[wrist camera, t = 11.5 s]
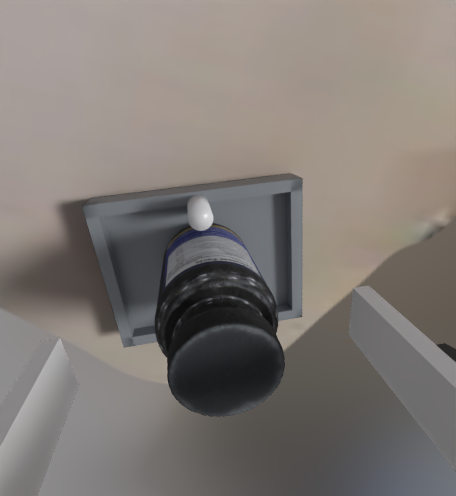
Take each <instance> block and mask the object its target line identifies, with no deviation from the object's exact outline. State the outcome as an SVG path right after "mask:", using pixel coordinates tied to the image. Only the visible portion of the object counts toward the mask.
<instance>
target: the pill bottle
mask: <svg viewBox="0 0 456 496" xmlns="http://www.w3.org/2000/svg"><path fill="white" fill-rule="evenodd" d="M154 322H155V334H156V339H157V342H158V344H159V347H160V348H161V350H162V352H163V354H164V355H165V356H166V357H167V363H168V367H167V369H168V375H167V377H168V383H169V387H170V389H171V392H172V394H173V395H174V397H175V398H176V400H178V401H179V403H181V404H182V405H183V406H184V407H186V408H187V409H189V410H191V411H193V412H196V413H199V414H202V415H208V416H218V417H220V416H223V417H224V416H230V415H235V414H239V413H241V412H245V411H248V410H250V409H253V408H254V407H255V406H257V405H259V404H260V403H262V402H264V401H265V400H266V399H267V398H268V397H269V396H270V395H271V394H272V393H273V392H274V390H275V389H276V388H277V387H278V385H279V383H280V380H281V378H282V376H283V371H284V366H285V362H284V354H283V349H282V346H281V344H280V342H279V340H278V338H277V336H276V332H277V328H278V309H277V305H276V302H275V299H274V296H273V294H272V292H271V291H270V289H269V287H268V286H267V284H266V282H265V280H264V279H263V277H262V275H261V273H260V271H259V270H258V268H257V266H256V264H255V263H254V261H253V259H252V257H251V256H250V254H249V252H248V250H247V249H246V247H245V245H244V243H243V241H242V240H241V238H240V237H239V236H238V235H237V234H236V233H235V232H233V231H232V230H231V229H229V228H227V227H225V226H222V225H219V224H216V223H212V225H211V226H210V227H209V228H208V229H206V230H203V231H198V230H195V229H193V228H192V227H191V226H188V227H186V228H184V229H182V230H181V231H179V232H178V233H177V234H176V235H175V236H174V237H173V238H172V240H171V241H170V243H169V245H168V246H167V248H166V250H165V253H164V256H163V264H162V271H161V278H160V286H159V293H158V301H157V308H156V314H155V321H154Z"/></svg>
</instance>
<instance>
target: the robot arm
mask: <svg viewBox="0 0 456 496" xmlns="http://www.w3.org/2000/svg"><path fill="white" fill-rule="evenodd" d="M349 336H350V337H351V338H352V340H353V341H354V342H355V343H356V345H357V346H358V347H359V349H360V350H361V351H362V352H363V353H364V355H365V356H366V357H367V359H368V360H369V361H370V363H371V364H372V365H373V366H374V368H375V369H376V370H377V372H378V373H379V374H380V375H381V377H382V378H383V379H384V380H385V382H386V383H387V384H388V385H389V387H390V388H391V389H392V391H393V392H394V393H395V395H396V396H397V397H398V398H399V399H400V401H401V402H402V403H403V405H404V406H405V407H406V409H407V410H408V411H409V412H410V414H411V415H412V416H413V417H414V419H415V420H416V421H417V422H418V424H419V425H420V426H421V428H422V429H423V430H424V431H425V433H426V434H427V435H428V437H429V438H430V439H431V440H432V441H433V443H434V444H435V445H436V447H437V448H438V449H439V451H440V452H441V453H442V454H443V456H444V457H445V458H446V459H447V461H448V462H449V463H450V465H451V466H452V467H453V468H454V470H455V471H456V349H454V348H452V347H451V346H449V345H447V344H445V343H444V344H439V345H435V344H434V343H433V342H432V341H431V340H430V339H428V338H427V337H426V336H425V335H424V334H423V333H421V331H419V330H418V329H417V328H416V327H415V326H414V325H413V324H411V323H410V322H409V321H408V320H407V319H406V318H404V317H403V316H402V315H401V314H400V313H399V312H398V311H397V310H396V309H394V308H393V307H392V306H391V305H390V304H389V303H388V302H386V301H385V300H384V299H383V298H382V297H381V296H380V295H379V294H377V293H376V292H375V291H374V290H373V289H372V288H371V287H369V286H364V287H358V288H353V295H352V305H351V316H350V326H349ZM78 387H79V383H78V380H77V378H76V376H75V373H74V371H73V368H72V366H71V364H70V361H69V359H68V356H67V354H66V352H65V350H64V347H63V345H62V342H61V340H60V338H55V339H49V340H43V341H40V343H39V344H38V346H37V348H36V349H35V351H34V353H33V354H32V356H31V357H30V359H29V361H28V362H27V364H26V365H25V367H24V368H23V370H22V372H21V373H20V375H19V377H18V378H17V380H16V381H15V383H14V384H13V386H12V388H11V389H10V391H9V392H8V394H7V396H6V397H5V399H4V400H3V402H2V404H1V405H0V496H37V495H38V493H39V490H40V488H41V485H42V482H43V479H44V477H45V474H46V471H47V469H48V466H49V463H50V461H51V458H52V455H53V453H54V450H55V448H56V445H57V442H58V440H59V437H60V434H61V432H62V429H63V426H64V424H65V421H66V418H67V415H68V413H69V410H70V408H71V405H72V402H73V400H74V397H75V394H76V392H77V389H78Z"/></svg>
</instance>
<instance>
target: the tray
mask: <svg viewBox="0 0 456 496" xmlns="http://www.w3.org/2000/svg"><path fill="white" fill-rule="evenodd" d="M82 208H83V212H84V215H85V219H86V222H87V225H88V229H89V232H90V235H91V239H92V242H93V245H94V249H95V252H96V255H97V259H98V262H99V266H100V269H101V272H102V276H103V279H104V282H105V286H106V289H107V292H108V296H109V299H110V303H111V306H112V309H113V313H114V316H115V319H116V323H117V326H118V329H119V333H120V336H121V340H122V343H123V346H124V347H130V346H136V345H142V344H147V343H153V342H157V339H156V334H155V322H154V321H155V314H156V308H157V301H158V293H159V286H160V278H161V271H162V264H163V256H164V253H165V250H166V248H167V246H168V245H169V243H170V241H171V240H172V238H173V237H174V236H175V235H176V234H177V233H178V232H179V231H181V230H182V229H184V228H186V227H188V226H191V227H192V228H193V229H195V230H198V231H203V230H206V229H208V228H209V227H210V226H211V225H212V223H216V224H219V225H222V226H225V227H227V228H229V229H231V230H232V231H233V232H235V233H236V234H237V235H238V236H239V237H240V238H241V240H242V241H243V243H244V245H245V247H246V249H247V250H248V252H249V254H250V256H251V257H252V259H253V261H254V263H255V264H256V266H257V268H258V270H259V271H260V273H261V275H262V277H263V279H264V280H265V282H266V284H267V286H268V287H269V289H270V291H271V292H272V294H273V296H274V299H275V302H276V305H277V309H278V321H281V320H287V319H292V318H298V317H302V178H301V177H298V176H296V175H294V174H282V175H274V176H266V177H258V178H250V179H242V180H234V181H226V182H218V183H210V184H202V185H194V186H186V187H177V188H169V189H161V190H153V191H145V192H137V193H129V194H121V195H113V196H105V197H97V198H91V199H90V200H89V201H88V202H86V203H85V204H84V205H82Z"/></svg>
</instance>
